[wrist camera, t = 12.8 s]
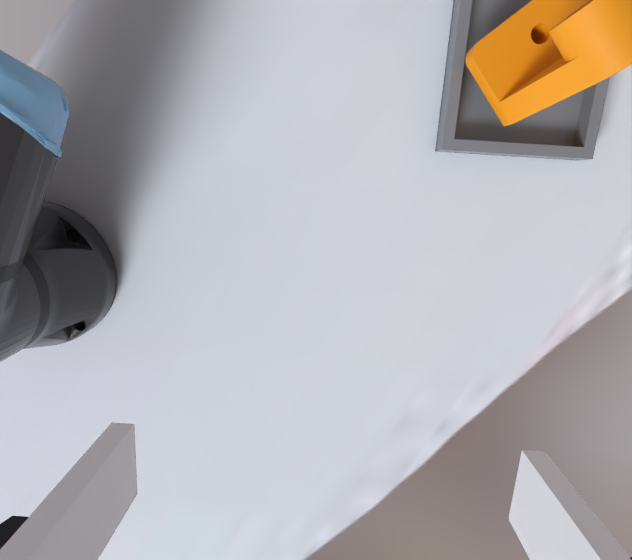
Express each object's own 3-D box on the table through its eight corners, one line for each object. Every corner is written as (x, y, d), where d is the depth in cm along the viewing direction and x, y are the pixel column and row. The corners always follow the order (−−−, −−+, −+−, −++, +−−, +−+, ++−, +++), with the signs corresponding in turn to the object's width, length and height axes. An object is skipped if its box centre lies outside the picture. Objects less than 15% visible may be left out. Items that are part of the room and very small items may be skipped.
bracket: (566, -25, 36) (679, -121, 25) (606, 50, 37) (733, -8, 26) (457, 58, 38) (516, 5, 26) (500, 127, 39) (574, 106, 27)
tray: (435, 151, 42) (442, 149, 40) (459, -46, 38) (468, -62, 36) (577, 160, 42) (592, 159, 40) (615, -37, 38) (635, -52, 36)
